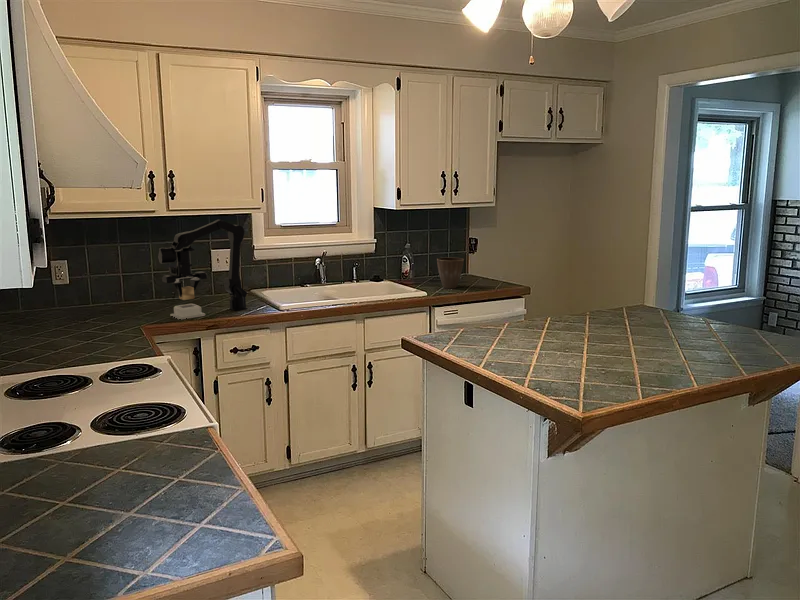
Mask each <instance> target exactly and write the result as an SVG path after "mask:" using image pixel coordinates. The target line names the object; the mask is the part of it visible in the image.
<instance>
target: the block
mask: <svg viewBox="0 0 800 600" xmlns="http://www.w3.org/2000/svg"><path fill="white" fill-rule="evenodd" d="M181 288H182V297H180V296H179V295H178V299H180V300H182V301H186V300H193V299H195V292H194V287H191V285H190V286H189V285H188V286H181Z"/></svg>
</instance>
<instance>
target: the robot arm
mask: <svg viewBox="0 0 800 600" xmlns="http://www.w3.org/2000/svg"><path fill="white" fill-rule="evenodd" d="M219 230H222V231H224V232H226V233H227V237H228V240H229V248H230V249H229V263H228V264H229V265H228V274H227V276H226V277H224V278H223V279H224V280H223V281H224V283H223V287H224V290H225V291H226V292H227V293H228V295H229V296H230V297H229V298H230V299H229V309H230V310H232V311H243V310H248V309H249V308H248V306H247V301H246V300H247V299H246V298H247V294H248V292H247V291H246V290H245V289H243V287H242V280H241V276H240V264H241V263H240V262H241V261H240V260H241V245H242V244H243V240H244V237H245V233H246V230H245V228H244V227H243V225H239V224H233V223H229V222H227V221H225V220H223V219H216V220H214V221H212V222H210V223H208V224H205V225H203V226H200V227H198V228H195V229H194V230H193V229H192V230H190V231H189V230H188V231H184V232H179V233H176V234H175V235H174V237H173V241H172V243H171V245H170V246H169V247H160V248H159V249H158V250H159V251H158V255H157V258H158V262H159V264H161V265H162V264H172V263H175V262H176V261H177V262H176V264H175V266H169V267H168V273H169V274H167V275H163V276H162V278H161V280H162V283H165V284H172V285H173V286H174V287H175V289H176V292H177V293H178V297H179V296H180V297H182V288H181V287H182V282H181V280H182V281H183V280H189V282H190V287H194V293H195V292H196V288H197V287H198V284H199V282H201V281H202V280H207V279H208V273H206V271H194V273H193V272H192V267H193V263H192V262H191V252H195V251H196V249H195V248H193V247H192V246H191V245H192V244H193V243H194V242H195V241H197V240H198V239H200V238H203V237H205V236H207V235H210V234H212V233H214V232H217V231H219Z"/></svg>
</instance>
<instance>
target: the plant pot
mask: <svg viewBox="0 0 800 600" xmlns="http://www.w3.org/2000/svg"><path fill="white" fill-rule="evenodd" d="M464 259H465V258H462V257H451V256H448V257H445V256H444V257H438V258H436V263H437V271H438V275H439V279H440V281H441V286H442V288H444V289H457V287H458V286H459V282H460V279H461V275H462V271H463V268H464V267H463V266H464V262H465V260H464Z"/></svg>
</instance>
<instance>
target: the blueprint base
mask: <svg viewBox="0 0 800 600" xmlns="http://www.w3.org/2000/svg"><path fill="white" fill-rule="evenodd" d="M171 316H173V317H172V318H174V317H175V318H174V319H176V318H177V319H176V320H179V319H181V320H187V319H192V318H193V319H194V318H199V317H200V318H201V317H204V316H205V317H206V313H205V312H202V307H201V306H200V305H197V304H195V303H187V304H180V305H179V304H178V305H175V306H173V313H170V317H171ZM186 318H187V319H186Z"/></svg>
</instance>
